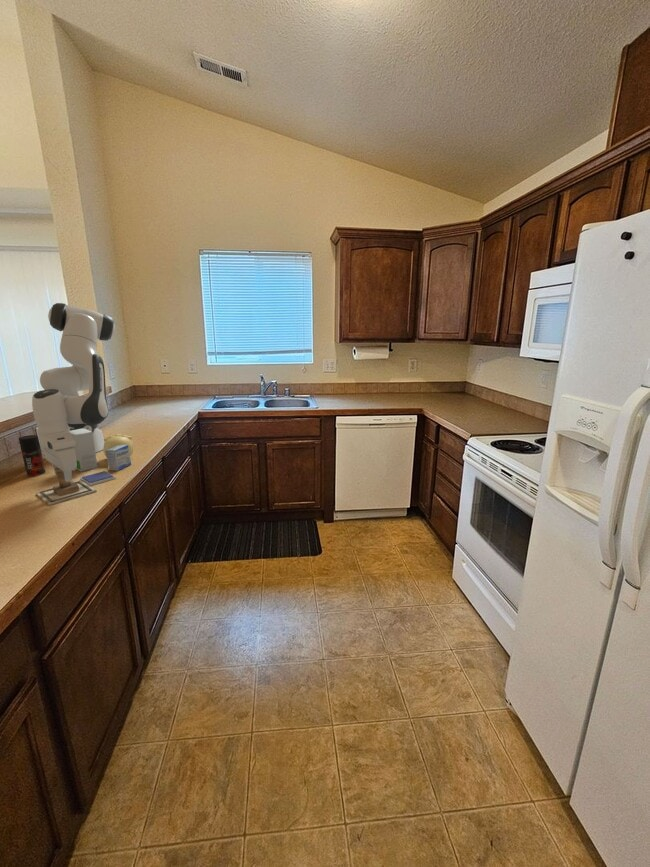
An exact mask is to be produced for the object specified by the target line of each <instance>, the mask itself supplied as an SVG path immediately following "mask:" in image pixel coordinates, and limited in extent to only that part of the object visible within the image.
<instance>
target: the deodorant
mask: <svg viewBox="0 0 650 867" xmlns="http://www.w3.org/2000/svg"><path fill="white" fill-rule="evenodd" d="M18 443H19V446H20V451H21V454H22V459H23V463H24V464H23V465H24V467H25V468H24V469H25V472H26V476H27V477H37V476H42V475H45V473H46V469H45V468H46V466H45V463H44V459H43V454H42V449H41V446H40V442H39V437H38V434H30V435H29V434H28V435H24V436H20V437H18Z"/></svg>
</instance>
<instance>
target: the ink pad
mask: <svg viewBox="0 0 650 867" xmlns="http://www.w3.org/2000/svg"><path fill="white" fill-rule="evenodd" d="M116 478H117V477H116V476H115V475H113V474H111V473H109V472H108V471H106V470H103V471H99V472H96V473H93V474H87V475H84V476H82V477H80V480H79V481H83V482H84V483H86V484H87V485H89V486H91V487H92V486H95V485H98V484H103V483H104V482H108V481H112V480H116Z"/></svg>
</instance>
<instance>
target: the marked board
mask: <svg viewBox="0 0 650 867" xmlns="http://www.w3.org/2000/svg"><path fill="white" fill-rule="evenodd" d="M73 482H74V481H73ZM74 483H76V484H77V485H78V486H79V491H77V492H73V493H70V494H66V495H63V496H58V495H57V494H56V493H54V491H53V487H52V488H49V489H45V490H41V491H38V492H35V494H36V495H37V496H38V497H39V498H40V500H43V501H44V503H46V504H47V505H48V506H50V507H51V506H53V505H56V504H61V503H63V502H67V501H70V500H73V499H77V498H81V497H84V496H87V495H90V494H93V493H96V492H97V490H96V489H95V488H93V487H92V485H91V486H89V485H87V484H86V483H84V482H83V481H81V480H78V481H75V482H74Z"/></svg>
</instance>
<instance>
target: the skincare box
mask: <svg viewBox="0 0 650 867" xmlns="http://www.w3.org/2000/svg"><path fill="white" fill-rule="evenodd" d="M70 433H71V436H72V438H73V439H74V440H75V443H76V446H74V449H75V453H76V461H77V468H76V470H77V471H80V472H86V471H88V470H93V469H96V468H98V462H97V455H96V453H97V452H95V446H94V439H93V432H92V431H89V430H86V429H83V428H82V429H77V430H72V431H70Z"/></svg>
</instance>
